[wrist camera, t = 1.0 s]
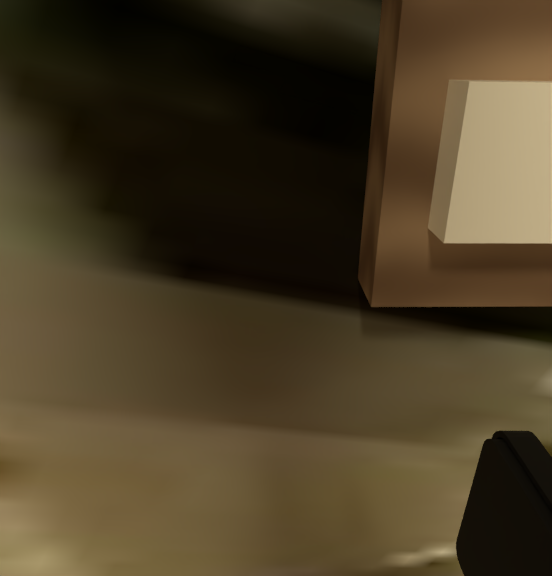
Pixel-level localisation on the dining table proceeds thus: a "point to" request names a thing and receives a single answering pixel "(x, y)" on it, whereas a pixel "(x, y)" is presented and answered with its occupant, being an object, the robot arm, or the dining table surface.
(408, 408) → the dining table surface
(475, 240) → the coaster
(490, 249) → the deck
